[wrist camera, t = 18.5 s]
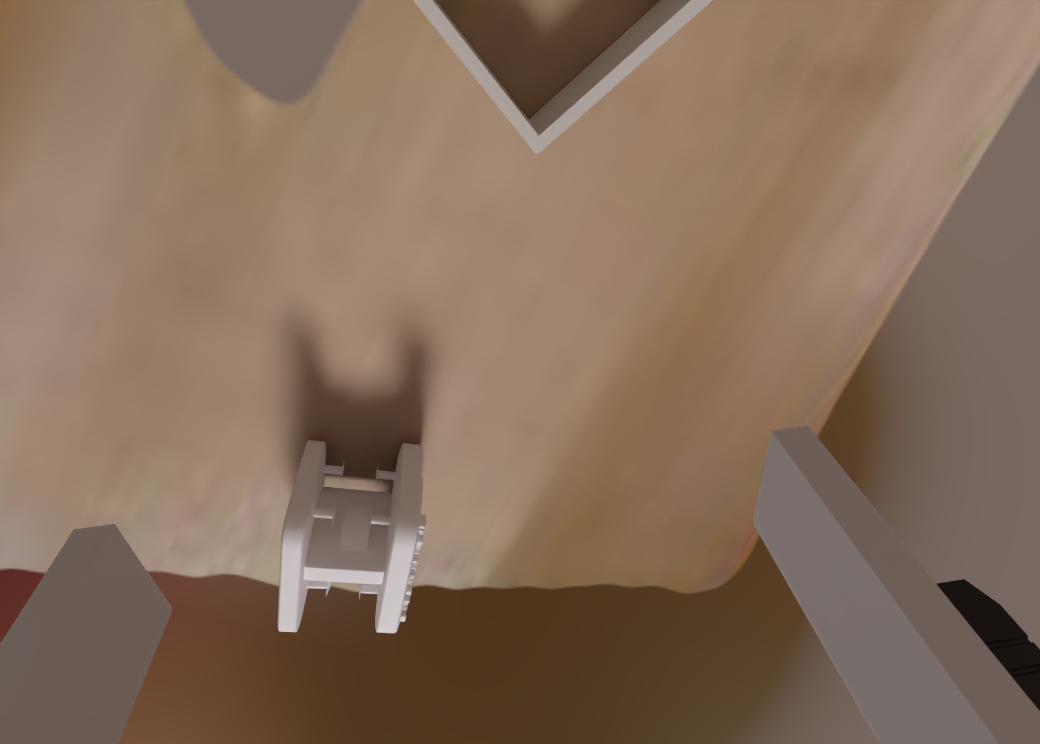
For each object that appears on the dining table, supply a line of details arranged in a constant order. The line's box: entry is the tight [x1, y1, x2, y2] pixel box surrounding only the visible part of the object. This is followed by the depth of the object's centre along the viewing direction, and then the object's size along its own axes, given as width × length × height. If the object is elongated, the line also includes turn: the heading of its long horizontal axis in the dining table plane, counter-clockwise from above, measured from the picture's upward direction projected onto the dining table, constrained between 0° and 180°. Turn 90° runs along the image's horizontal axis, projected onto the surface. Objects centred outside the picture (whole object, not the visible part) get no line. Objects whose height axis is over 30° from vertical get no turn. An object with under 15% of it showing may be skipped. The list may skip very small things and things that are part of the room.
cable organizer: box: [278, 440, 426, 633], centre depth 53 cm, size 15×11×12 cm
